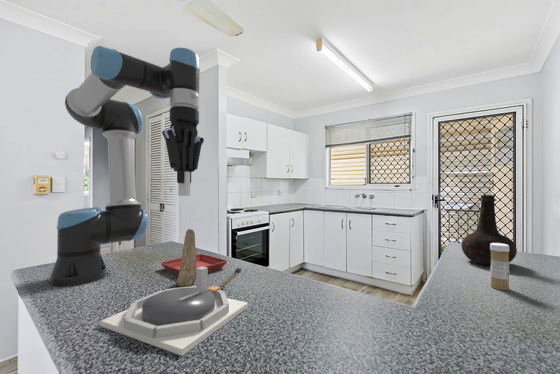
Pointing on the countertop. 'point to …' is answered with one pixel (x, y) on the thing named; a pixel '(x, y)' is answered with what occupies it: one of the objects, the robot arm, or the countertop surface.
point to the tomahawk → (229, 279)
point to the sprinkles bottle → (499, 266)
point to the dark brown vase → (486, 235)
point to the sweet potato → (188, 261)
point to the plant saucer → (201, 260)
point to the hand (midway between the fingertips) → (184, 195)
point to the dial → (180, 303)
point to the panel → (180, 339)
